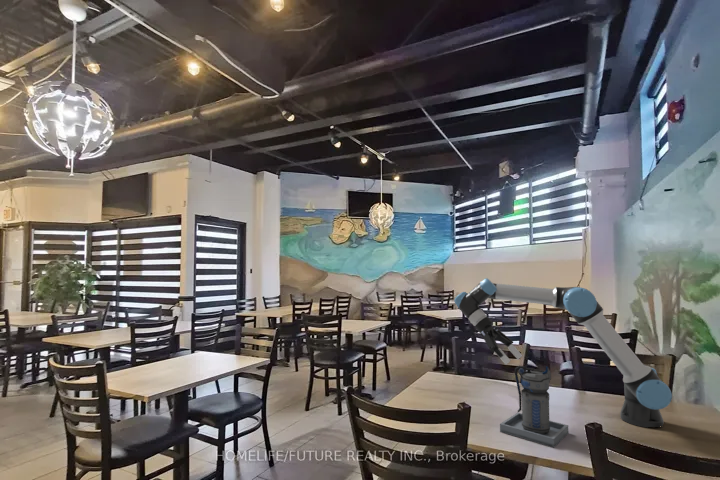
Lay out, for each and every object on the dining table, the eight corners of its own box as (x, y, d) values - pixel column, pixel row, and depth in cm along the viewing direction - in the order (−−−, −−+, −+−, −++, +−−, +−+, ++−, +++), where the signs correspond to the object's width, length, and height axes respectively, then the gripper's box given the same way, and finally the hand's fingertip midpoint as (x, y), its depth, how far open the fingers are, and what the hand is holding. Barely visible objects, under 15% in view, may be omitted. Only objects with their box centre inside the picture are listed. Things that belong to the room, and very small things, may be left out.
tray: (568, 433, 158) (568, 425, 158) (553, 447, 145) (553, 439, 145) (517, 419, 171) (517, 412, 172) (500, 431, 158) (499, 423, 158)
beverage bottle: (515, 422, 165) (514, 361, 167) (550, 427, 160) (549, 364, 162) (515, 432, 155) (514, 366, 157) (553, 437, 151) (551, 370, 153)
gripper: (487, 324, 194) (518, 360, 183) (462, 329, 175) (496, 370, 164) (497, 314, 191) (530, 350, 180) (474, 318, 172) (509, 359, 161)
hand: (514, 360), depth 172 cm, fingers open, 13 cm apart
